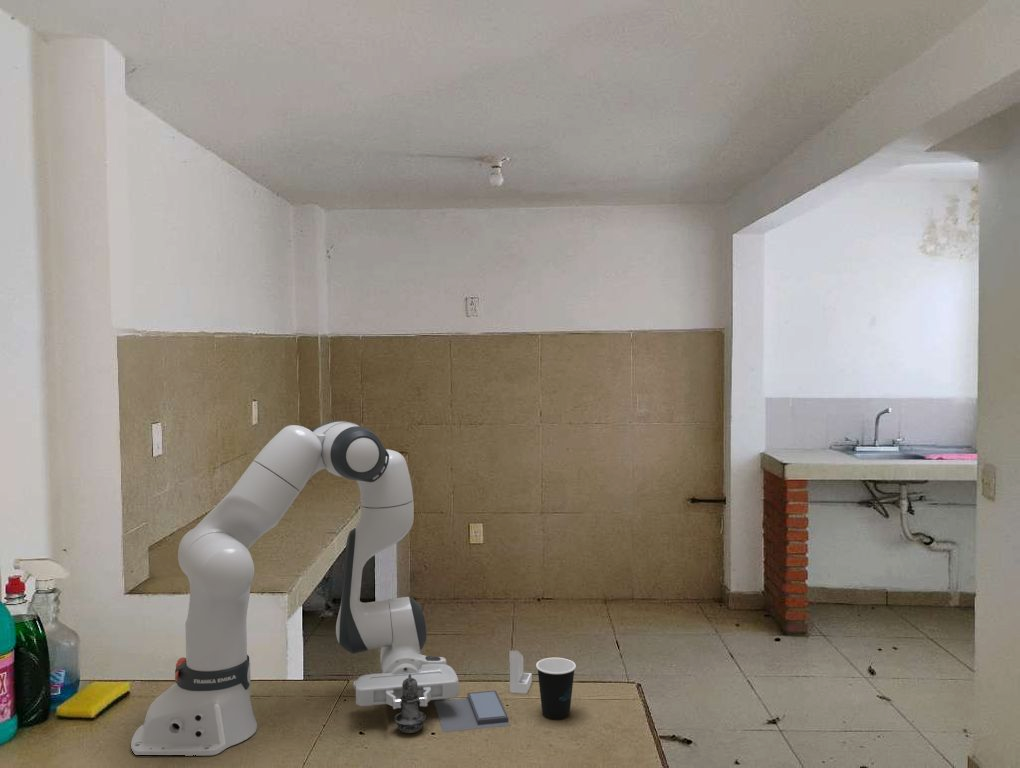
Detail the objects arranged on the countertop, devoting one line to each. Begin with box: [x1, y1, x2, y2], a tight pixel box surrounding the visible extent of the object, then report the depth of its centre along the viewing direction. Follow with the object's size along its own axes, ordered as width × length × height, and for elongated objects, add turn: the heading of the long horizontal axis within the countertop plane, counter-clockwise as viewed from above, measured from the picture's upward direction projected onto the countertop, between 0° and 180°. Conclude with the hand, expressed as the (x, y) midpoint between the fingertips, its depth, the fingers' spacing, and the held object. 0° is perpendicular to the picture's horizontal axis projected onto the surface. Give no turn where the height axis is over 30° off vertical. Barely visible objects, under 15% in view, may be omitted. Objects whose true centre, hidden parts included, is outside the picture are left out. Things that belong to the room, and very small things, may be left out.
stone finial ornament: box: [394, 674, 426, 734], centre depth 162 cm, size 6×6×12 cm
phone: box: [466, 690, 509, 725], centre depth 172 cm, size 6×13×1 cm, turn 12°
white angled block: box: [509, 649, 533, 695], centre depth 181 cm, size 4×10×9 cm, turn 168°
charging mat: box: [433, 697, 511, 733], centre depth 170 cm, size 13×14×1 cm
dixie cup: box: [535, 657, 577, 721], centre depth 169 cm, size 8×8×11 cm
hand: (410, 704), depth 161 cm, fingers closed on stone finial ornament, 4 cm apart
